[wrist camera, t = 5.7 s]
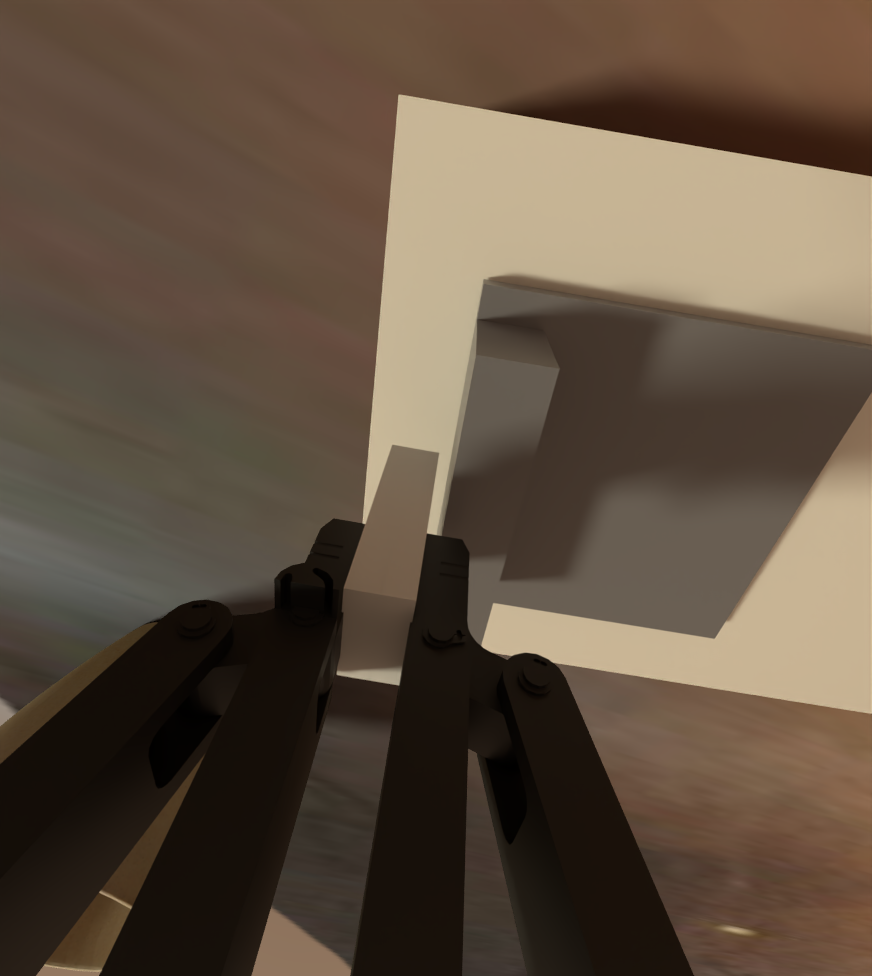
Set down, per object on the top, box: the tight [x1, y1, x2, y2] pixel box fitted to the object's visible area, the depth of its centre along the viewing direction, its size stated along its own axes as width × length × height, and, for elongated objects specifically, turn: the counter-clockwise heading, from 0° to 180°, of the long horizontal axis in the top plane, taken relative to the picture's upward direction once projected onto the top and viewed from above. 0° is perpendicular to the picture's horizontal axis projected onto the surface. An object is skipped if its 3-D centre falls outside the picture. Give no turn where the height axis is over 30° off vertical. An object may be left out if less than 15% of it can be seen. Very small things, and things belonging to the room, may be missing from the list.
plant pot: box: [0, 622, 205, 972], centre depth 31 cm, size 15×15×16 cm
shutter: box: [437, 279, 872, 645], centre depth 16 cm, size 12×12×4 cm
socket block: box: [363, 95, 872, 714], centre depth 22 cm, size 32×20×8 cm, turn 82°
